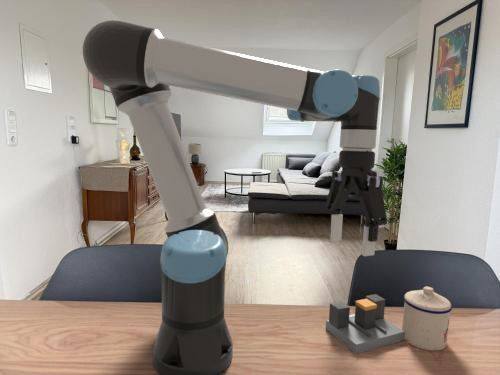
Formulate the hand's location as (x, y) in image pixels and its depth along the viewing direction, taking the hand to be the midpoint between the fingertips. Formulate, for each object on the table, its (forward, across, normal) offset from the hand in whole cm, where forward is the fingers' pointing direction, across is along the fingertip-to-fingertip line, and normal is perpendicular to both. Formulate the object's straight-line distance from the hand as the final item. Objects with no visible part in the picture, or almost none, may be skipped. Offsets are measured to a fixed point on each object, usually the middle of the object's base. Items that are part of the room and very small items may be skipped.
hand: (350, 247), depth 79 cm
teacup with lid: (+18, -11, -12) cm, 24 cm away
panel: (+18, -6, 0) cm, 19 cm away
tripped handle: (+16, -6, 0) cm, 17 cm away
